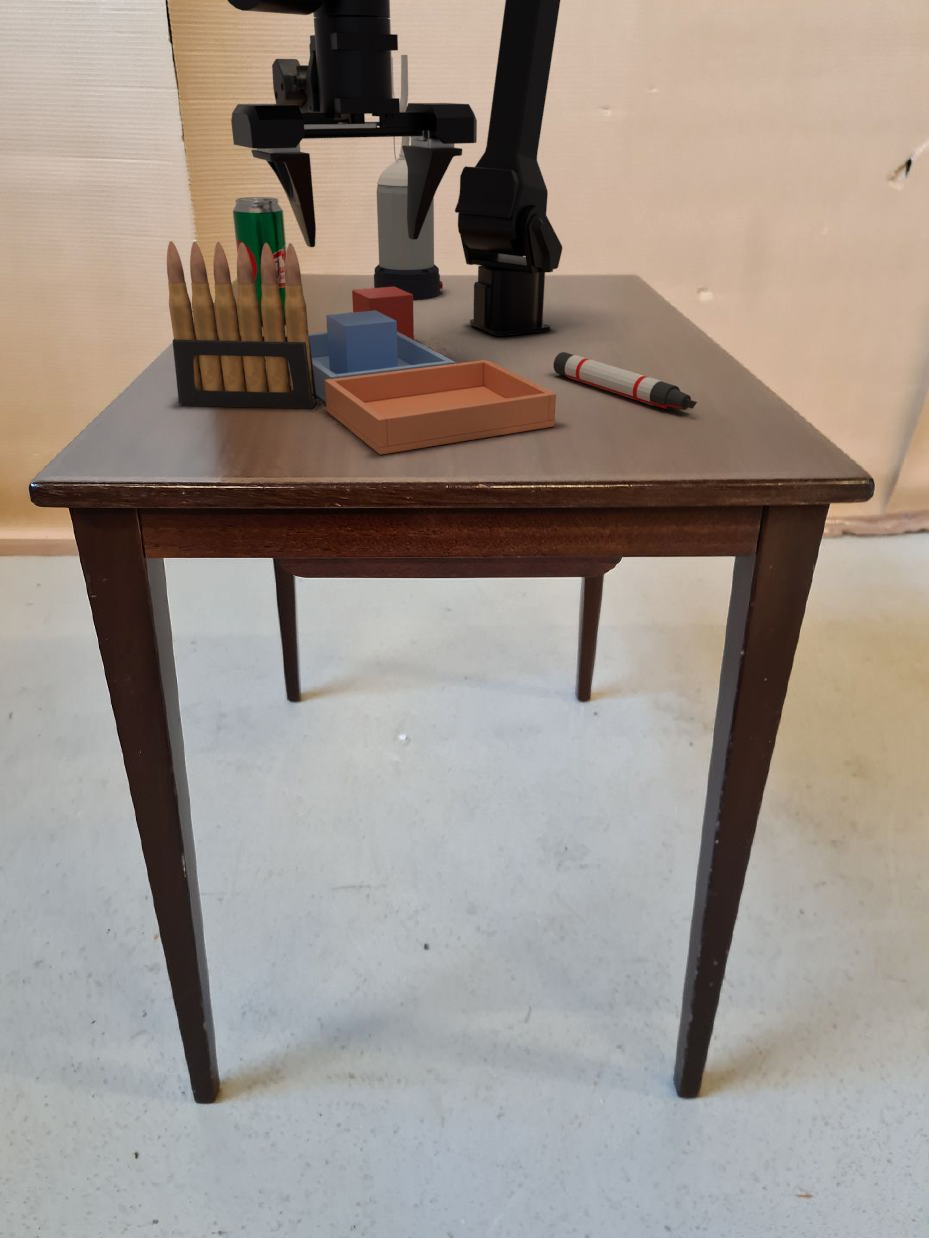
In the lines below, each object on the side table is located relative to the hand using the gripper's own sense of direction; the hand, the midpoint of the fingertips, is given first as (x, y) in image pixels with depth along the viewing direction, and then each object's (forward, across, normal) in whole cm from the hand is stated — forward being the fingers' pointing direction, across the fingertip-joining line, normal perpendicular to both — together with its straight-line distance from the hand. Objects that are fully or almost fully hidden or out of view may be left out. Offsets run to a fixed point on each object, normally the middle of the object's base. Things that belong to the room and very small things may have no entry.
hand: (363, 242), depth 75 cm
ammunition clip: (+11, +12, +5) cm, 17 cm away
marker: (+11, -16, +16) cm, 25 cm away
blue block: (+10, +1, +2) cm, 10 cm away
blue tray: (+11, +2, +2) cm, 11 cm away
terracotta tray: (+11, +1, +15) cm, 18 cm away
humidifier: (+11, -18, -31) cm, 37 cm away
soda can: (+11, +2, -23) cm, 25 cm away
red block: (+11, -6, -10) cm, 16 cm away
